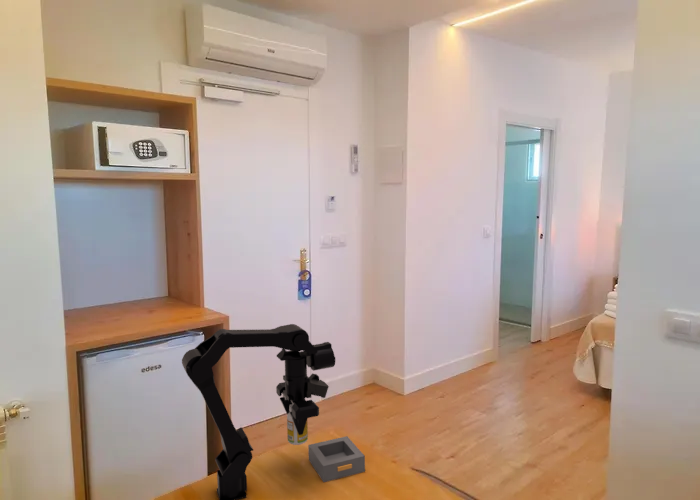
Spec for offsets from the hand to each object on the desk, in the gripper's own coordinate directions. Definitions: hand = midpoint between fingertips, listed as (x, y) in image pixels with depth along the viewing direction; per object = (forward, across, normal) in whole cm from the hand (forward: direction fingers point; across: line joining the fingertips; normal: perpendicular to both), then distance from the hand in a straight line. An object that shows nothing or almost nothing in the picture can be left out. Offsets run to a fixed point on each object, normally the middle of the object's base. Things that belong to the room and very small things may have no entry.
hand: (297, 429), depth 132 cm
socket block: (+13, 0, -11) cm, 17 cm away
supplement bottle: (+3, 0, 0) cm, 3 cm away
